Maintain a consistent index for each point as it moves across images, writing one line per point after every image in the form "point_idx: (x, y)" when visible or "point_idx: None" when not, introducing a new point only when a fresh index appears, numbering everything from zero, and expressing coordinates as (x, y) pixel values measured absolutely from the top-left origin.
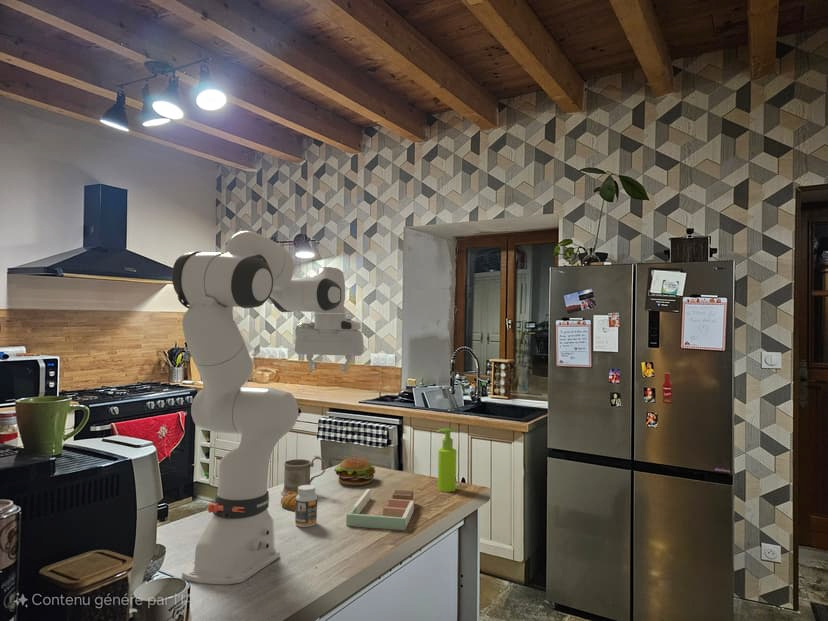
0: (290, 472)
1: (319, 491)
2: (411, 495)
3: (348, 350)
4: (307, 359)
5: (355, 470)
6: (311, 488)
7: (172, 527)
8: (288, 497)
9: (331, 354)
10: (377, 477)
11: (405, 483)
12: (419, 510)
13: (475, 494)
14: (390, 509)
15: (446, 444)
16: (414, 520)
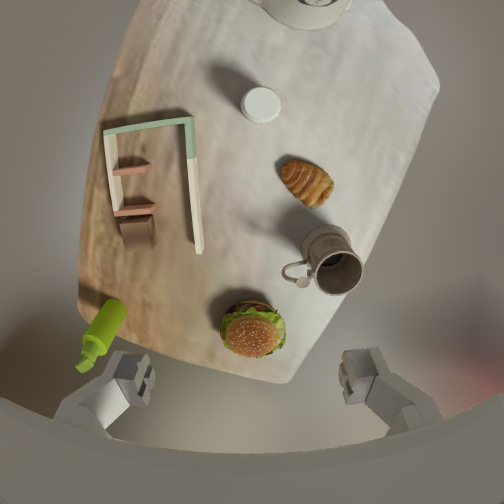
0: (343, 246)
1: None
2: (121, 230)
3: (29, 446)
4: (421, 393)
5: (244, 316)
6: (248, 97)
7: (430, 78)
8: (321, 180)
9: (189, 453)
10: None
11: (175, 324)
12: None
13: (80, 295)
14: (134, 167)
15: (87, 346)
16: None
